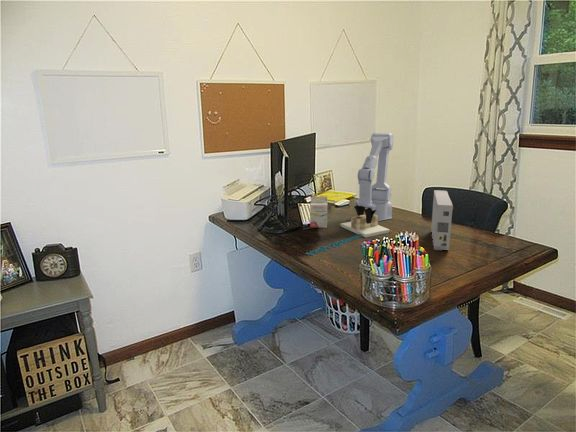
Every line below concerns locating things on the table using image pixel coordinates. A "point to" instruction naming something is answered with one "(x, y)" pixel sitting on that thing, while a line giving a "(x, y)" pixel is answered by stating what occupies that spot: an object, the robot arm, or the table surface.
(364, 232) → the pin board
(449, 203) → the game console
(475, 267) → the table surface
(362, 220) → the block
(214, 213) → the table surface
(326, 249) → the nameplate
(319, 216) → the ink cartridge box
